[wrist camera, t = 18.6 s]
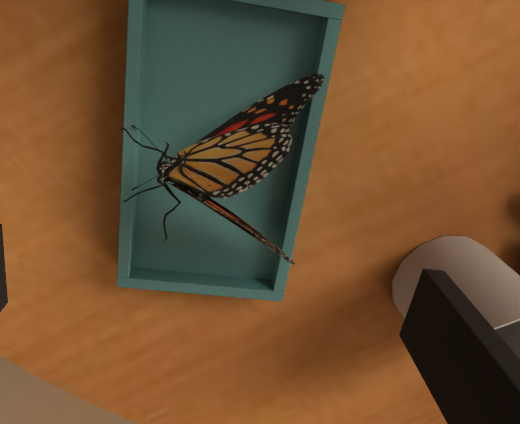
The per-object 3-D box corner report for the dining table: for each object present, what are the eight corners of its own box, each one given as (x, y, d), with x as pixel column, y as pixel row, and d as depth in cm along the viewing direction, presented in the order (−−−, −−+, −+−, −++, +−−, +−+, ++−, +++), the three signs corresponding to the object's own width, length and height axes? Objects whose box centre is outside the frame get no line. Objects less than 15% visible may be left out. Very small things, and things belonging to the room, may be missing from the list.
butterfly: (114, 256, 28) (241, 228, 34) (191, 340, 21) (334, 286, 27) (108, 54, 24) (255, 63, 30) (204, 76, 17) (371, 81, 23)
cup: (382, 324, 37) (436, 425, 27) (402, 234, 33) (470, 315, 24) (479, 324, 37) (563, 423, 28) (507, 237, 34) (612, 316, 25)
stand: (137, -31, 25) (129, -36, 23) (334, 6, 27) (345, 4, 24) (123, 268, 33) (116, 286, 30) (278, 282, 34) (282, 301, 32)
